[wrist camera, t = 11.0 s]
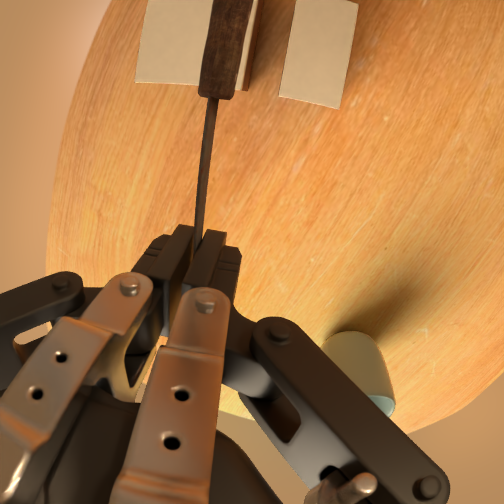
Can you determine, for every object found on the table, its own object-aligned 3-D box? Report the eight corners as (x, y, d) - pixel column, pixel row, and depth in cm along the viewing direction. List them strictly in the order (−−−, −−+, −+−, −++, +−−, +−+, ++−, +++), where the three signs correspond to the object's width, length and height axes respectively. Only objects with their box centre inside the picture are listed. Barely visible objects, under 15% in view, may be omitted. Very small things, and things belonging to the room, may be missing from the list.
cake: (157, 82, 21) (134, 82, 17) (172, -3, 17) (152, -19, 14) (247, 91, 21) (241, 90, 18) (264, 1, 18) (261, -17, 14)
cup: (309, 366, 36) (313, 436, 27) (315, 320, 32) (323, 397, 23) (369, 363, 35) (383, 430, 26) (383, 318, 31) (407, 390, 23)
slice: (278, 96, 22) (278, 96, 18) (294, 6, 18) (298, -12, 14) (328, 106, 22) (339, 109, 18) (345, 17, 18) (359, 3, 14)
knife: (211, 296, 13) (201, 328, 11) (185, 291, 13) (173, 323, 11) (278, -98, 5) (278, -126, 3) (248, -101, 5) (242, -128, 3)
